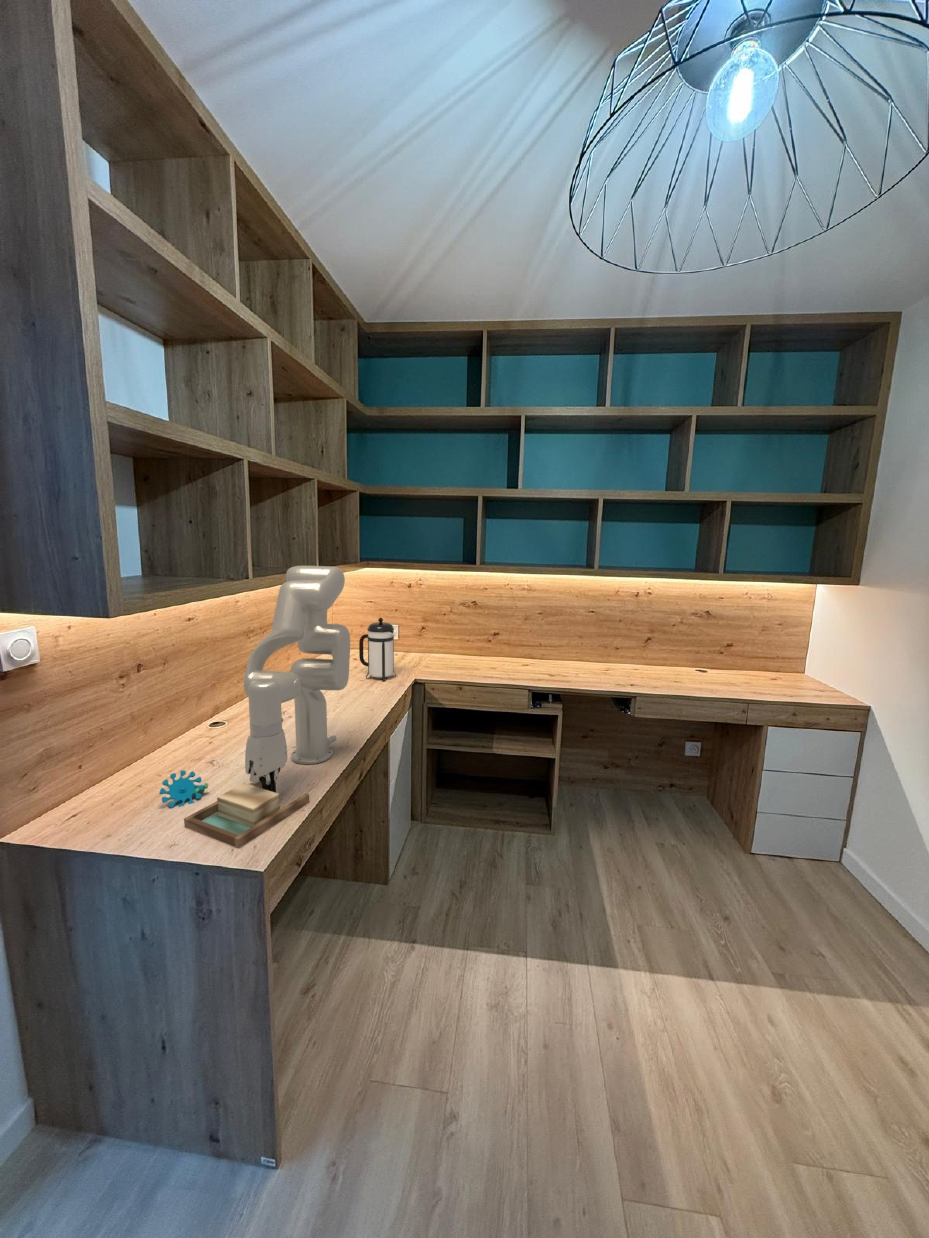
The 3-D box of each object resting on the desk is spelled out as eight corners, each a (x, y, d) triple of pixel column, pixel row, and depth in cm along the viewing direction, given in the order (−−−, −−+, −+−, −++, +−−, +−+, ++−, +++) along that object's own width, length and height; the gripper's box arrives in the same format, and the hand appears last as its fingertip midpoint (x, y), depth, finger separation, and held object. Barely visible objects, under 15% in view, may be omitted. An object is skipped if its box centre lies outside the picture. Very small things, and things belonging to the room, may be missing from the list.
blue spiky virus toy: (158, 809, 124) (161, 770, 130) (157, 817, 128) (160, 779, 134) (208, 804, 130) (209, 767, 135) (205, 812, 134) (207, 775, 139)
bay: (259, 789, 138) (258, 779, 138) (309, 805, 131) (309, 794, 130) (184, 830, 119) (183, 818, 118) (239, 851, 111) (238, 839, 111)
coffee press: (393, 672, 259) (393, 614, 254) (398, 681, 244) (398, 619, 239) (359, 674, 254) (358, 615, 249) (361, 683, 239) (361, 620, 234)
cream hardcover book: (245, 800, 131) (244, 782, 130) (280, 812, 126) (279, 793, 125) (218, 815, 123) (217, 796, 123) (254, 828, 118) (252, 809, 118)
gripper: (277, 716, 135) (280, 780, 138) (230, 735, 122) (234, 805, 125) (299, 721, 132) (301, 786, 135) (253, 741, 119) (256, 813, 122)
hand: (269, 795), depth 130 cm, fingers closed
